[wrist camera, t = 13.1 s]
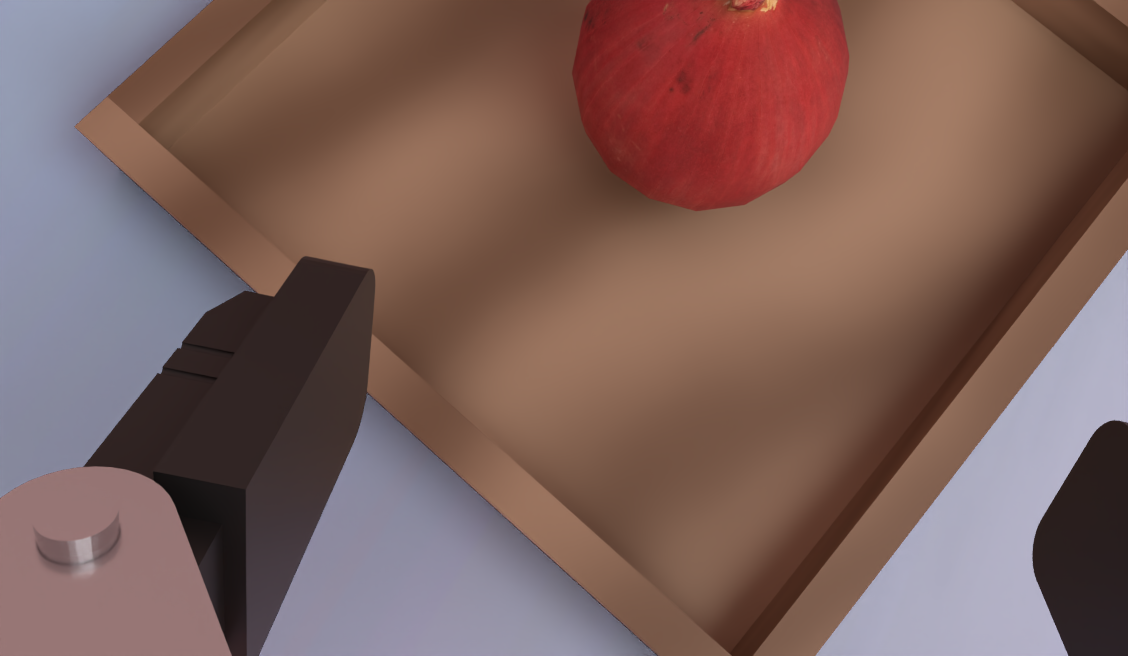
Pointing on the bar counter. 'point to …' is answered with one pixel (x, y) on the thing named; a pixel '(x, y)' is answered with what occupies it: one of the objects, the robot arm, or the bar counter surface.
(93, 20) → the bar counter surface
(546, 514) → the walnut tray
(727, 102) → the onion
